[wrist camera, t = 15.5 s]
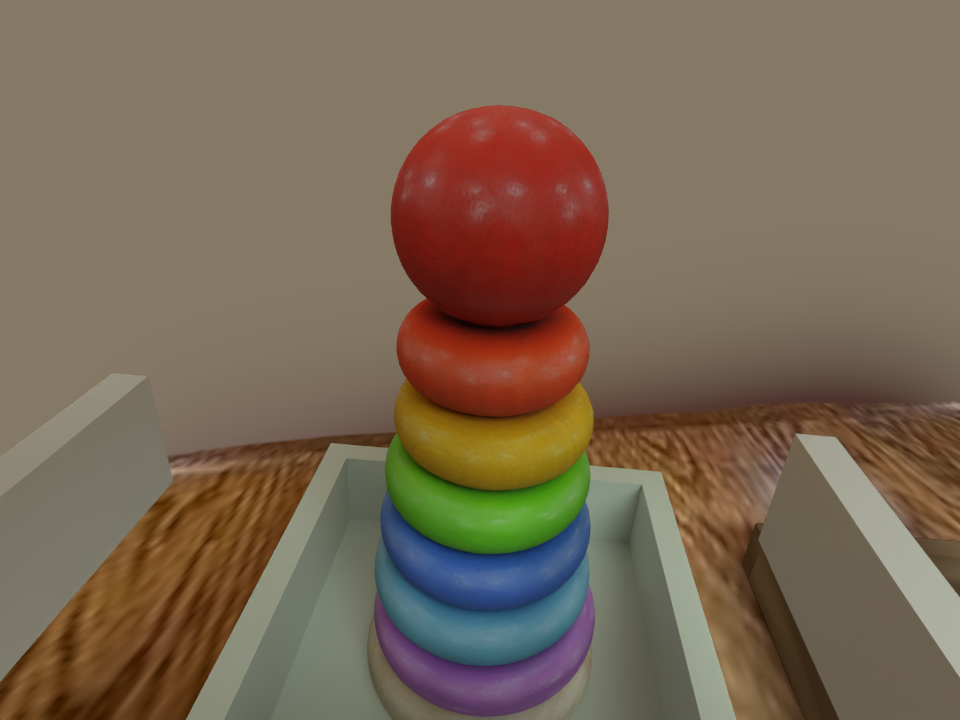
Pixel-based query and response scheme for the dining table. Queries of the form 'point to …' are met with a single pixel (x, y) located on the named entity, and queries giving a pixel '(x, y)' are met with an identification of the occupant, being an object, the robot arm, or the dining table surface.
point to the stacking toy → (490, 426)
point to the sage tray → (352, 590)
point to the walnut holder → (948, 556)
